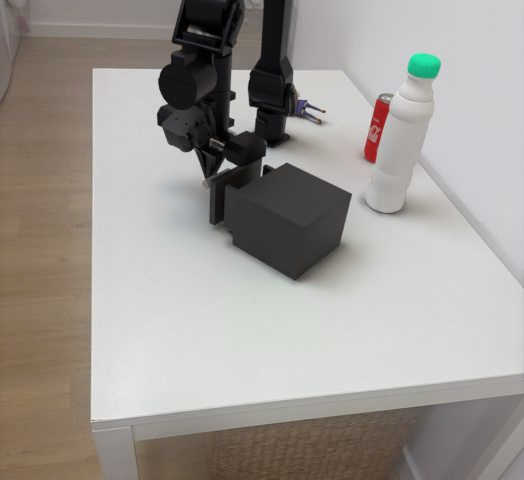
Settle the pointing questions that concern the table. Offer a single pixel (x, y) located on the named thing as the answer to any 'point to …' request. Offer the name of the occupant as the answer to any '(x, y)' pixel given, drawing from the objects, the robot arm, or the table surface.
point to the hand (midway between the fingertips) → (209, 180)
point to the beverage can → (377, 126)
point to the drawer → (230, 190)
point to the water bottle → (403, 135)
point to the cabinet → (289, 219)
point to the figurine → (302, 106)
